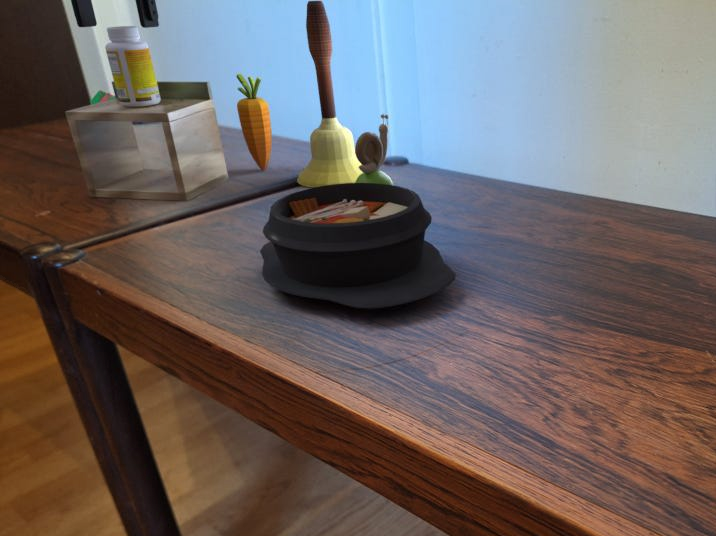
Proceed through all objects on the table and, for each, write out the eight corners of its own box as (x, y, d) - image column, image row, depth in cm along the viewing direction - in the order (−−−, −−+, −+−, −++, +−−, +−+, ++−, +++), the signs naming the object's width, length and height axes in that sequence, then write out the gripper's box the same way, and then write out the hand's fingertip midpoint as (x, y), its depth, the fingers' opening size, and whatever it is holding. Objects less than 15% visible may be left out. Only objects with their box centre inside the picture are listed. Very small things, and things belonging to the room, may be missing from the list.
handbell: (380, 167, 116) (365, -2, 104) (368, 187, 105) (349, 1, 93) (307, 168, 116) (283, 0, 104) (287, 188, 106) (258, 3, 93)
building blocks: (124, 142, 159) (152, 112, 153) (87, 125, 153) (115, 93, 147) (125, 117, 163) (152, 86, 157) (89, 99, 156) (116, 67, 150)
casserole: (223, 269, 77) (207, 194, 73) (365, 230, 88) (358, 163, 84) (339, 348, 61) (327, 257, 57) (498, 289, 71) (498, 208, 67)
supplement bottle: (167, 101, 104) (150, 25, 99) (152, 107, 99) (133, 28, 94) (130, 101, 104) (111, 26, 99) (113, 108, 99) (92, 29, 94)
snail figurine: (408, 205, 97) (402, 115, 91) (378, 218, 92) (370, 124, 86) (378, 200, 99) (370, 112, 94) (347, 212, 95) (337, 120, 89)
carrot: (284, 169, 116) (269, 73, 108) (258, 175, 113) (241, 76, 105) (268, 165, 119) (252, 70, 111) (242, 170, 116) (224, 74, 108)
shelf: (90, 197, 104) (59, 93, 97) (139, 176, 114) (114, 80, 107) (187, 201, 101) (162, 94, 94) (228, 179, 111) (209, 81, 104)
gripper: (2, -125, 86) (44, 28, 94) (127, -130, 83) (159, 29, 91) (46, -118, 93) (82, 25, 101) (164, -122, 90) (190, 25, 98)
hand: (118, 26), depth 96 cm, fingers open, 9 cm apart
